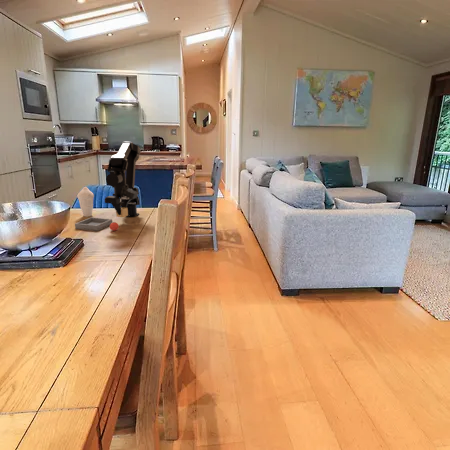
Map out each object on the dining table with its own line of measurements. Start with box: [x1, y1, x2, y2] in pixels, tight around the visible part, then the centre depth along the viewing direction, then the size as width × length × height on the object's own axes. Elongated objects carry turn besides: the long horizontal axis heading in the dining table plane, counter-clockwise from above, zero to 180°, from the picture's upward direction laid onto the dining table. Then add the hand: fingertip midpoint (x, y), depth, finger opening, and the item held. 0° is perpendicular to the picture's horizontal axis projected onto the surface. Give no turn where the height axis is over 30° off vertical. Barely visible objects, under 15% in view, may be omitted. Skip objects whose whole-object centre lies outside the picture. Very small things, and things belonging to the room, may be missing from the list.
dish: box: [74, 216, 113, 232], centre depth 151 cm, size 12×12×2 cm
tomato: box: [109, 221, 120, 232], centre depth 145 cm, size 4×4×4 cm
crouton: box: [115, 207, 128, 218], centre depth 156 cm, size 4×4×4 cm
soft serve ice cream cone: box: [76, 186, 95, 218], centre depth 168 cm, size 8×8×16 cm
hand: (122, 213), depth 156 cm, fingers closed on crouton, 4 cm apart
